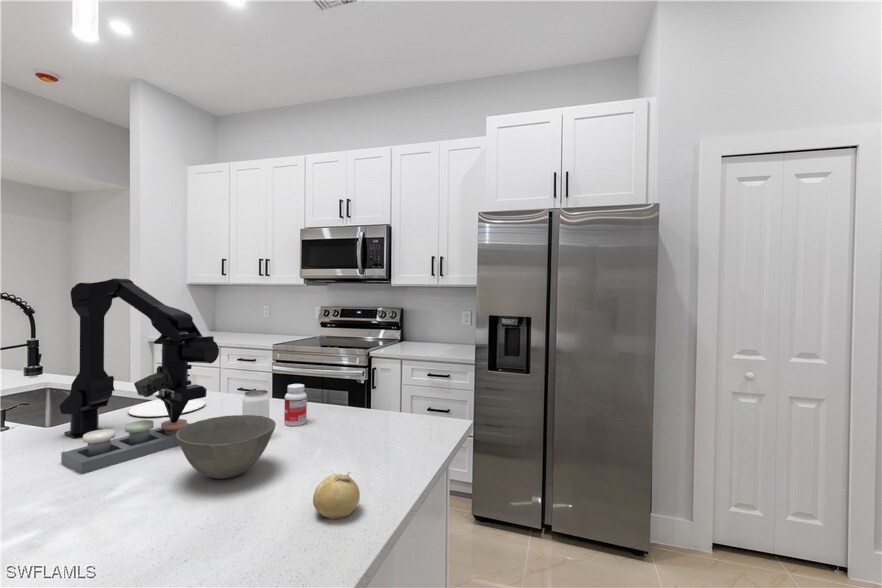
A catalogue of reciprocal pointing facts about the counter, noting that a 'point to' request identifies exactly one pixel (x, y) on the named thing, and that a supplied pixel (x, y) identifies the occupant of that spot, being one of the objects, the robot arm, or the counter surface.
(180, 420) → the terracotta button
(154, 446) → the panel
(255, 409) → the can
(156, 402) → the plate
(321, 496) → the onion
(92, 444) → the ivory button
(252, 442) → the bowl
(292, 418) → the pill bottle
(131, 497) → the counter surface
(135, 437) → the sage button
